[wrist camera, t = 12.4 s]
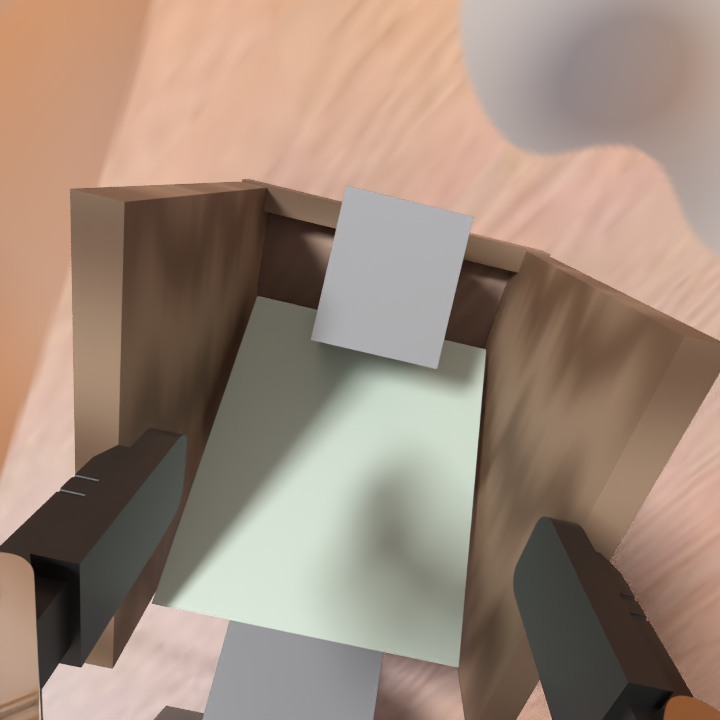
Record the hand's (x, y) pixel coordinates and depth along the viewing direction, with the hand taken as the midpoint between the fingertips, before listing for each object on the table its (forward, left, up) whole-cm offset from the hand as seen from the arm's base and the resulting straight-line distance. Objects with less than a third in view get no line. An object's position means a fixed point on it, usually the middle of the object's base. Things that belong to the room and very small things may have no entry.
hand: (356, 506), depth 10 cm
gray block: (0, 0, -10) cm, 11 cm away
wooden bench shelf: (0, +3, -16) cm, 16 cm away
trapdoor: (0, +10, -9) cm, 14 cm away
